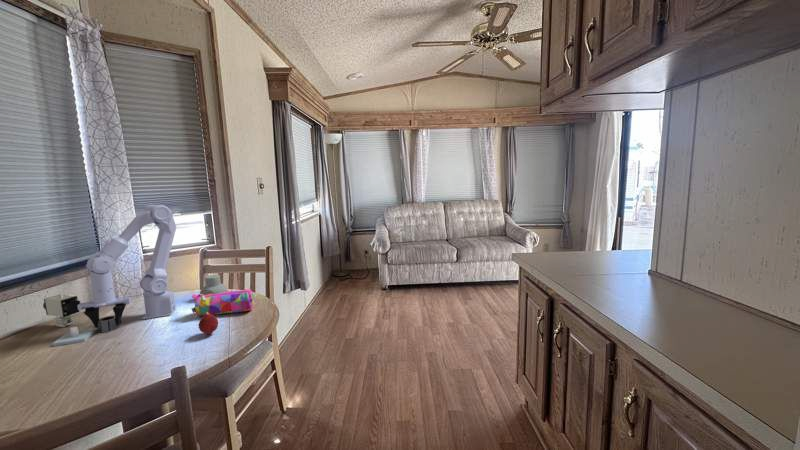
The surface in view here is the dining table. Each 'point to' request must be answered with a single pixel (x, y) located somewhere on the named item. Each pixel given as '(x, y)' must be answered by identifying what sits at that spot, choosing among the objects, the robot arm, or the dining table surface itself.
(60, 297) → the pneumatic valve
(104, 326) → the ring
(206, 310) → the pencil case
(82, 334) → the square plate with peg
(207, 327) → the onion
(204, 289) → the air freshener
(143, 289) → the robot arm
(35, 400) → the dining table surface
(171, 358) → the dining table surface
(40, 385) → the dining table surface
